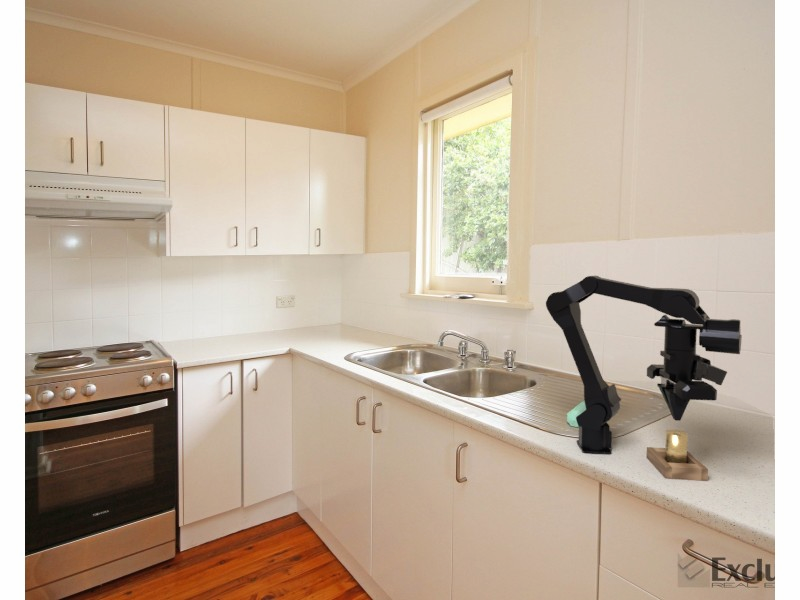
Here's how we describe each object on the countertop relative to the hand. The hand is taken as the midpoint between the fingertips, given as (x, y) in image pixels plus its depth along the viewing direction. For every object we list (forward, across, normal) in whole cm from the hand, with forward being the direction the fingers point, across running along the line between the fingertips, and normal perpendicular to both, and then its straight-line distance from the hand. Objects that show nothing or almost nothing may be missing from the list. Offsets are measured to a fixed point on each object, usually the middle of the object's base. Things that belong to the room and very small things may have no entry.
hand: (676, 420), depth 96 cm
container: (+11, +33, +10) cm, 36 cm away
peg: (+11, 0, 0) cm, 11 cm away
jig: (+11, 0, 0) cm, 11 cm away
